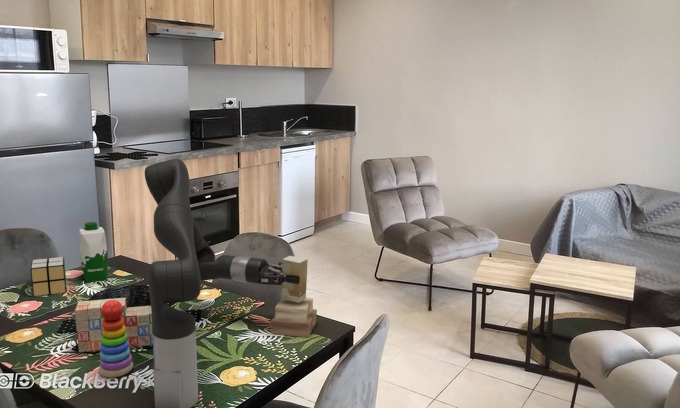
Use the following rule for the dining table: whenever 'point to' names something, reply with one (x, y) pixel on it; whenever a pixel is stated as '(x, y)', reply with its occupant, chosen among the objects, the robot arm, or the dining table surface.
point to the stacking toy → (114, 342)
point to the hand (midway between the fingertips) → (302, 276)
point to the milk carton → (93, 252)
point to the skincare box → (299, 269)
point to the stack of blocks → (91, 319)
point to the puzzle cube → (48, 276)
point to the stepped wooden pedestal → (294, 318)
